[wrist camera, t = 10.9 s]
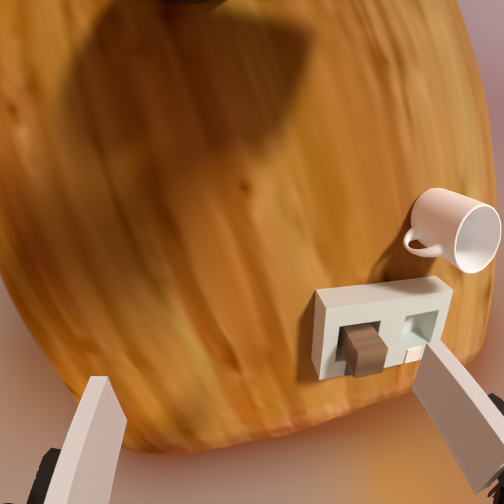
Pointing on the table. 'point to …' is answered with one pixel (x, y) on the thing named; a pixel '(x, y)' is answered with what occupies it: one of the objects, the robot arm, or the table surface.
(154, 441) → the table surface
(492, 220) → the mug
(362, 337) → the plug
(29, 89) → the table surface
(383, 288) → the socket board
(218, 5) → the table surface
